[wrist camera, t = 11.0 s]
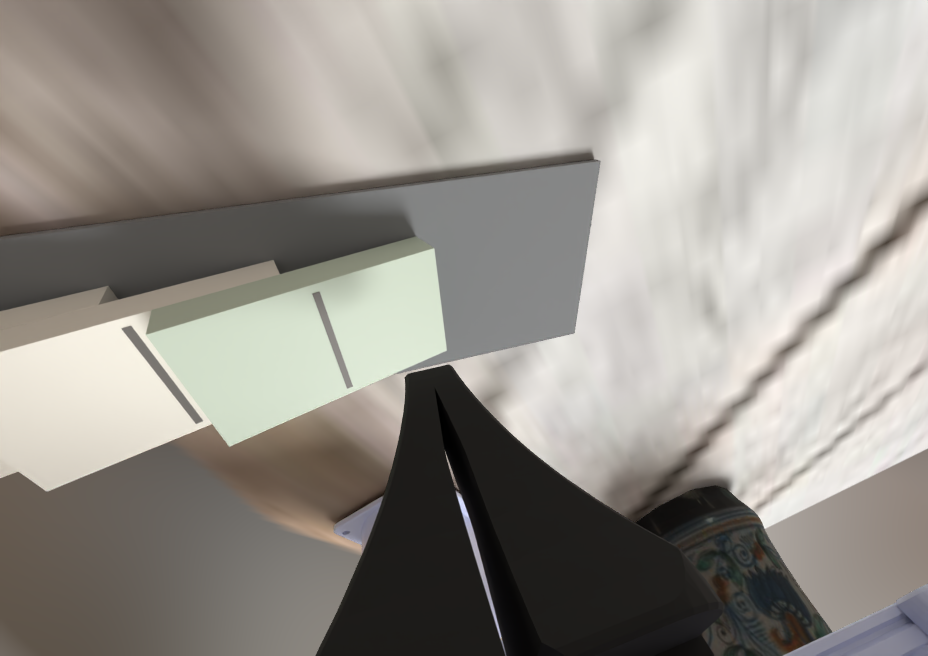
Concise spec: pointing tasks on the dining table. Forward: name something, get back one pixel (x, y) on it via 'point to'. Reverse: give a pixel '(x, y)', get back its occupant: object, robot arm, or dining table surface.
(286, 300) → the sage domino
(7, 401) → the domino
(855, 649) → the robot arm
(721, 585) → the beer stein
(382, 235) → the mat
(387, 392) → the dining table surface
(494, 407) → the dining table surface
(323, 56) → the dining table surface
